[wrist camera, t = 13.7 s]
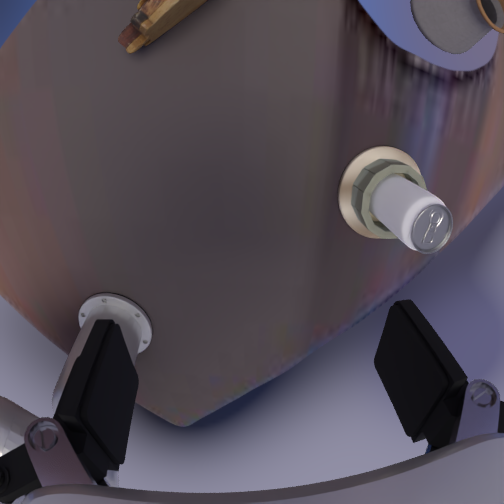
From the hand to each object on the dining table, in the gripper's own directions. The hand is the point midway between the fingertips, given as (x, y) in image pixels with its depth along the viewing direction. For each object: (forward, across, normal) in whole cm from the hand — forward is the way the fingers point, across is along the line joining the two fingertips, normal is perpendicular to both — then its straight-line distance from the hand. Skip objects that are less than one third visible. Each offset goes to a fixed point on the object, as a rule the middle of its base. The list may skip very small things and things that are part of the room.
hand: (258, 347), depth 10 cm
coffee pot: (+31, -32, -26) cm, 51 cm away
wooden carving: (+31, +5, -20) cm, 37 cm away
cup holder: (+30, -20, +4) cm, 37 cm away
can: (+30, -20, +4) cm, 36 cm away
